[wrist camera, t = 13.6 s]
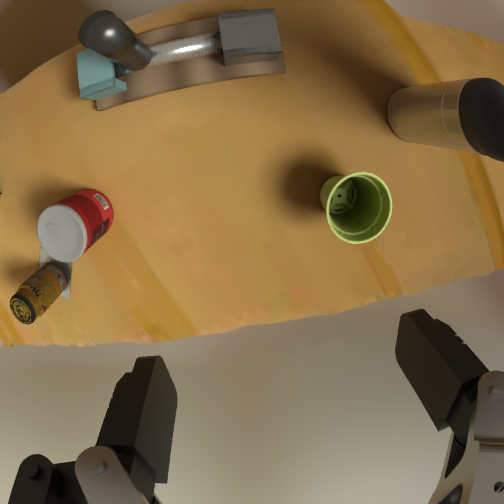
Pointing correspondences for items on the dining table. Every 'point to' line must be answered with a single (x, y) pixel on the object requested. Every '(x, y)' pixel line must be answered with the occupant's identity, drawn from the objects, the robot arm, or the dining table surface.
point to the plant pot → (356, 206)
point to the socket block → (97, 76)
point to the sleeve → (249, 36)
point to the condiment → (41, 289)
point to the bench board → (185, 67)
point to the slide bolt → (140, 45)
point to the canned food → (74, 224)
